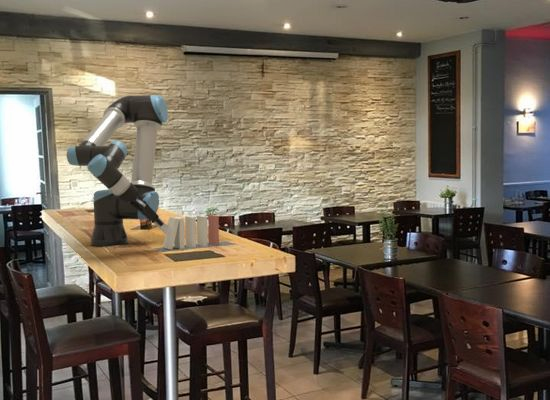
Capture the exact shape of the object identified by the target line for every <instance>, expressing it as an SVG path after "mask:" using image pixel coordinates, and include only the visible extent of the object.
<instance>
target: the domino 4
mask: <svg viewBox="0 0 550 400" xmlns="http://www.w3.org/2000/svg"><path fill="white" fill-rule="evenodd" d="M208 243H209V240H208V215H207V216H206V215H202V214H201V215H200V214H198V215H196V244H197V245H200V246H203V247H206V246H208Z"/></svg>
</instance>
